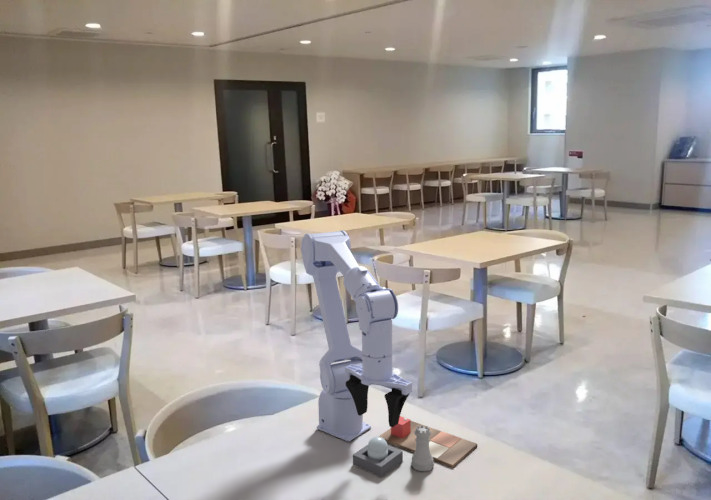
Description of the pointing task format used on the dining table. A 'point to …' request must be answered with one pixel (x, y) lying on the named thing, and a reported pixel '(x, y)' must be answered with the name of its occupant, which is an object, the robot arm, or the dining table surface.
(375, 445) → the dome button
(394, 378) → the robot arm
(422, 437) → the rook chess piece
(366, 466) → the dome housing
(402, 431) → the red die
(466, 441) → the game board
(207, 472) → the dining table surface
